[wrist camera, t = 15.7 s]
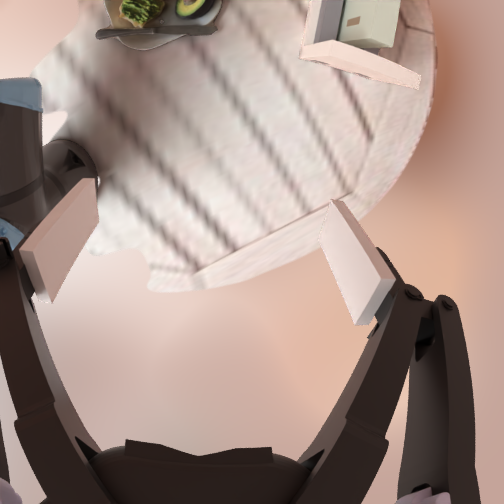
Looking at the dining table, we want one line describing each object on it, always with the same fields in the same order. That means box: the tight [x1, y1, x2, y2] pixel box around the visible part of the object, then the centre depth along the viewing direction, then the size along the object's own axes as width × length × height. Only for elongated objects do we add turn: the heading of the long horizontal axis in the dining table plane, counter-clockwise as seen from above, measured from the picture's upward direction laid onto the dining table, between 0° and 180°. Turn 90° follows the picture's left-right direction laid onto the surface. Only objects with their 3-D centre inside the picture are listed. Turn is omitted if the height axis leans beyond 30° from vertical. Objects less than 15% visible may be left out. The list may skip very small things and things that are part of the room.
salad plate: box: [96, 0, 223, 50], centre depth 25 cm, size 19×18×5 cm
